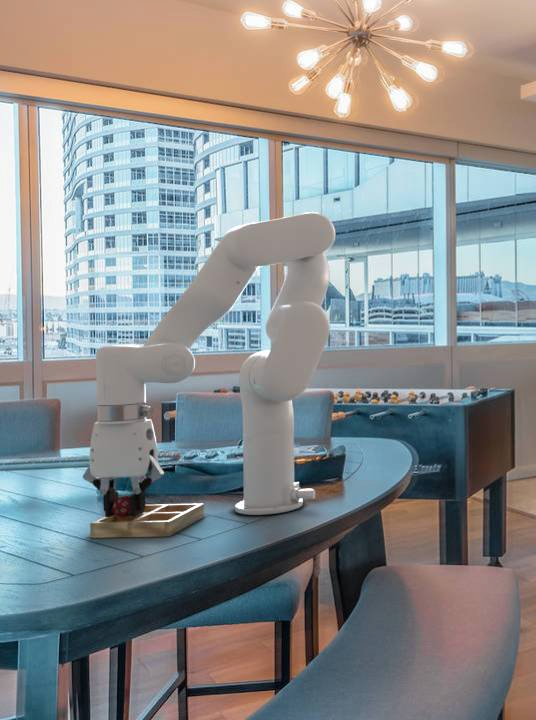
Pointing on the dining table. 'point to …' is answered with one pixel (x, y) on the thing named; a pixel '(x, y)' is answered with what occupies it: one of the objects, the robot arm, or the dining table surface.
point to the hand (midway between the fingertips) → (124, 513)
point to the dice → (122, 506)
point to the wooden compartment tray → (149, 521)
